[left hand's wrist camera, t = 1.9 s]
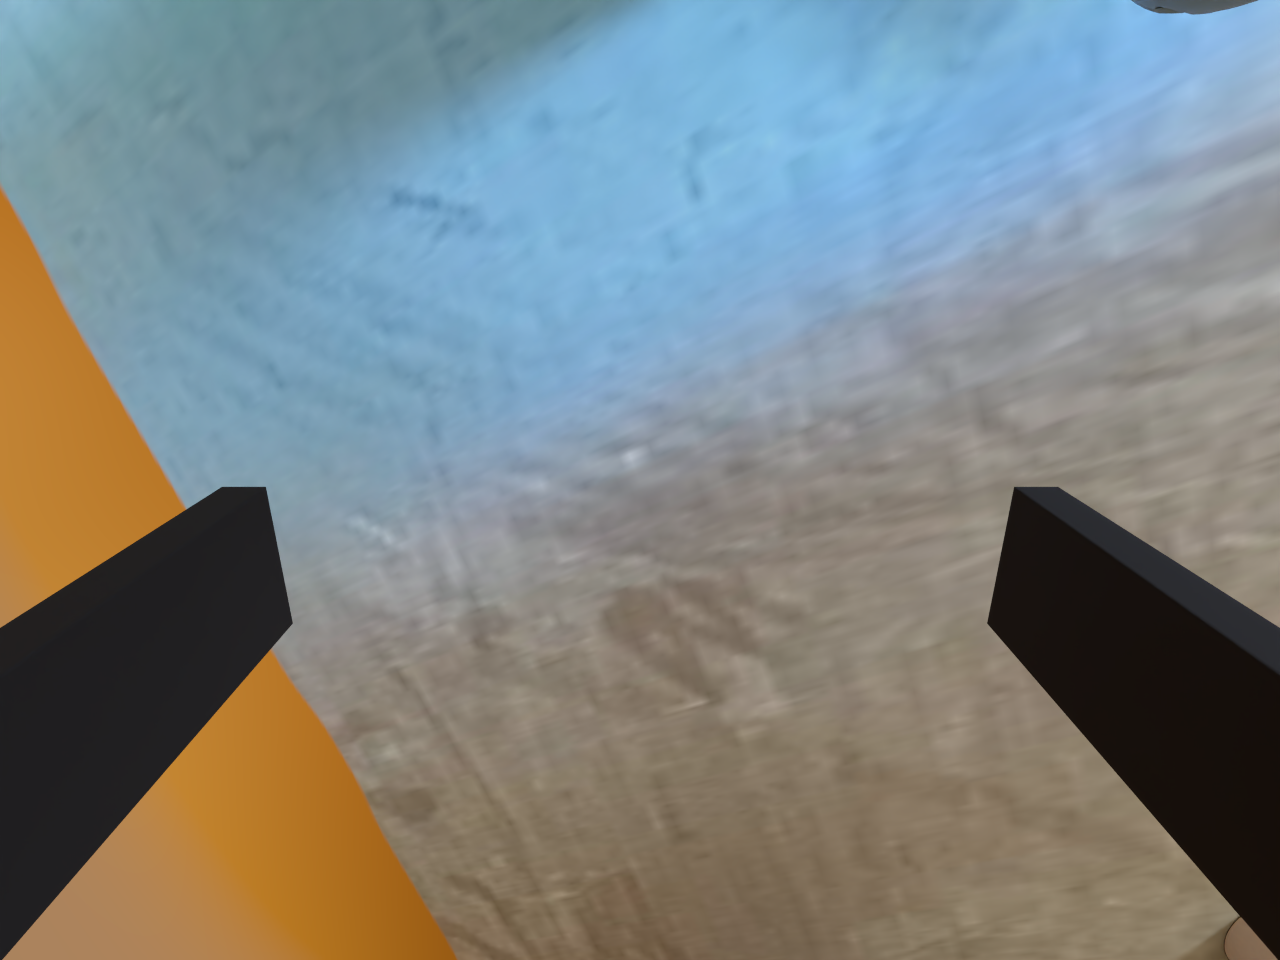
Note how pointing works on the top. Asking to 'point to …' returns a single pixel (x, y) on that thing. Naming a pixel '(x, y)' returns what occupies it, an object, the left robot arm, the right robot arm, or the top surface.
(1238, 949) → the can
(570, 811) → the top surface
